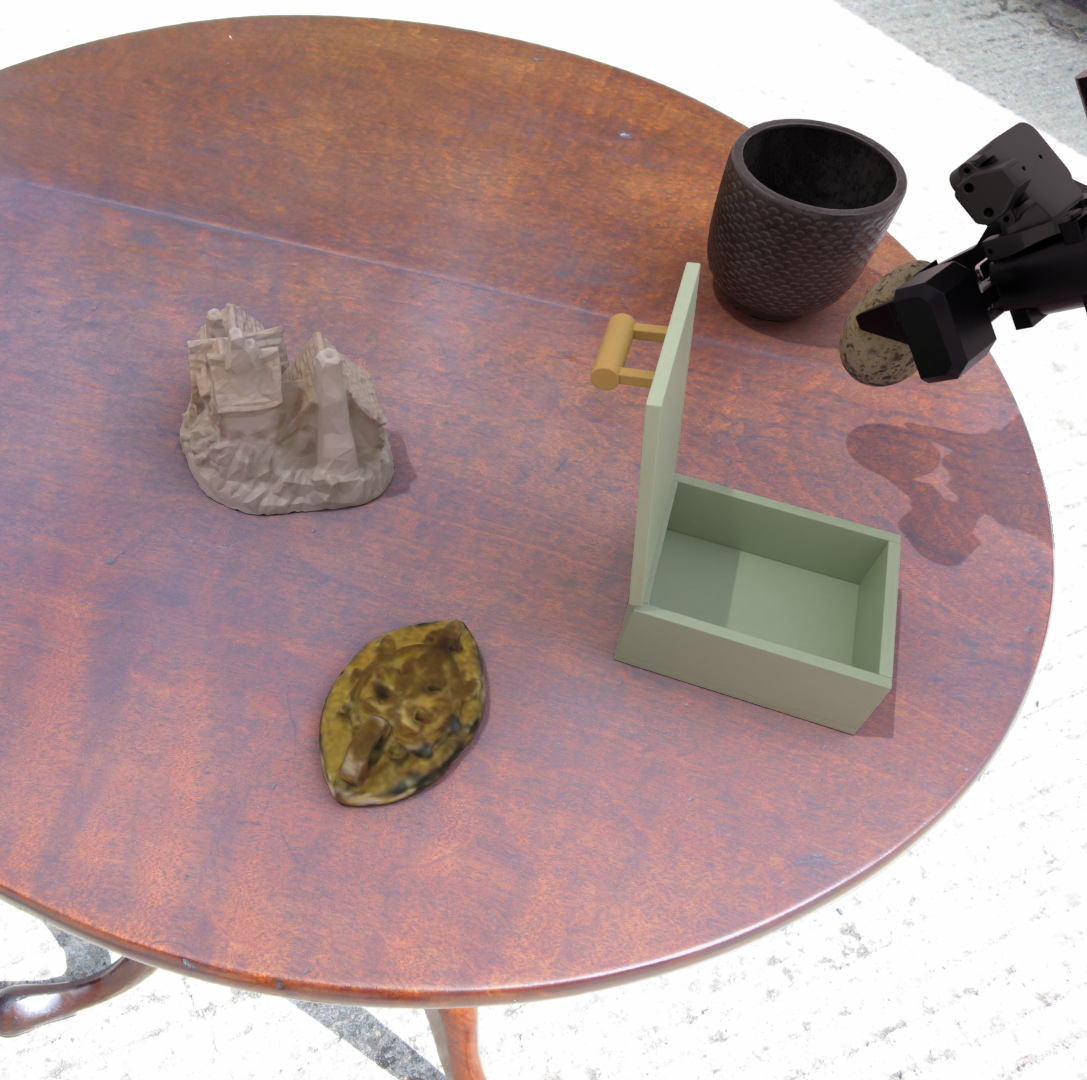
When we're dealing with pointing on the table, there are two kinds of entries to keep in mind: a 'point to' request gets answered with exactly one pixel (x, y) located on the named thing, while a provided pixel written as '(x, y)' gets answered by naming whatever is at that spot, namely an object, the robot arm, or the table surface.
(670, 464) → the chest lid
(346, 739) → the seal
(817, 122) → the planter
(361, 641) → the table surface
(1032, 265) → the robot arm
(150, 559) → the table surface
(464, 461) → the table surface
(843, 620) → the chest
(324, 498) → the ceramic cottage
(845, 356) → the decorative egg
